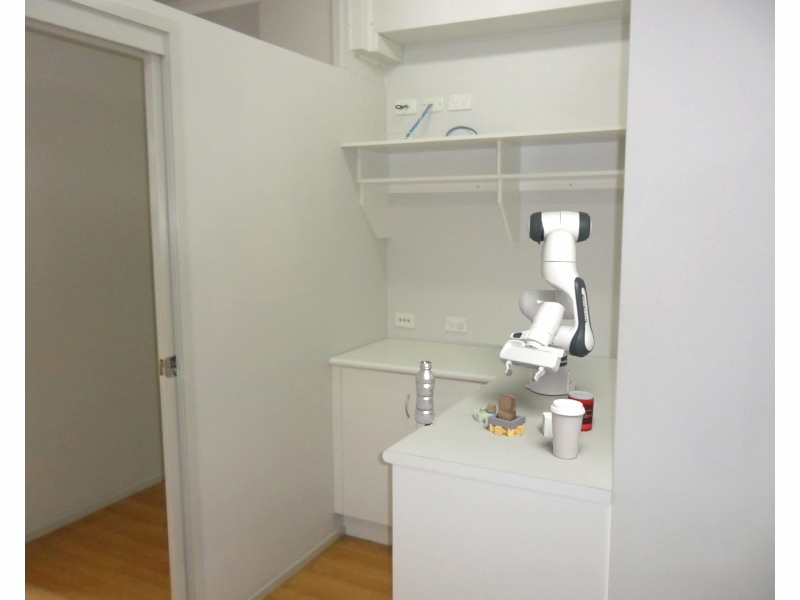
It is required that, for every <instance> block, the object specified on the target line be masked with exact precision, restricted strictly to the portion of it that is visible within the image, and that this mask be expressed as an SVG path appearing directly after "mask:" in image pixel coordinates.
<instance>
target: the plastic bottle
mask: <svg viewBox="0 0 800 600" xmlns="http://www.w3.org/2000/svg"><path fill="white" fill-rule="evenodd" d="M419 362H420V363H419V371H418V372H417V374H416V375H415V387H416V404H415V410H414V420H415V422H416V423H417V424H420V425H430V424H432V423H434V421H435V417H436V415H435V409H434V393H435V392H434V391H435V386H436V385H435V384H436V377H435V374H434V372H433V370H431V369H432V368H433V367H432V361H429V360H422V361H419Z"/></svg>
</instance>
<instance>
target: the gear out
mask: <svg viewBox="0 0 800 600" xmlns="http://www.w3.org/2000/svg"><path fill="white" fill-rule="evenodd" d="M526 417H527V416H525V415H520V414H516V419H514V420H512V421H507V420H503V419H499V418H498V413H497V414H494V415H492V416H489V417H488V424H487V425H488V431H489V432H490V433H492V432H493V433H494V435H496V436H499V435H500V436H502V435H503V434H504V435H503V436H505V435H506V436H507V437H508V436H509V438H510V436H513V438H514V437H515V435H518V436H521V435H523V434H524V432H525V424H526V420H527V419H526Z"/></svg>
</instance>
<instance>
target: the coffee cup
mask: <svg viewBox="0 0 800 600" xmlns="http://www.w3.org/2000/svg"><path fill="white" fill-rule="evenodd" d="M549 410H550V411H551V412H552V435H553V437H552V454H553V456H555V457H556V458H559V459H561V458H562V459H561V460H574V459H577V457H578V453H579V452H578V451H579V447H580V446H579V445H580V437H581V432H582V431H581V426H582V419H583V414H585V409H584V407H583V404H582V403H581V402H579V401H575V400H570V399H568V398H567V399H566V398H561V399H560V398H558V399H554V400H553V401H552V404H551V405H550V407H549Z"/></svg>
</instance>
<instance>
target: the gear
mask: <svg viewBox="0 0 800 600" xmlns="http://www.w3.org/2000/svg"><path fill="white" fill-rule="evenodd" d="M497 413H498V407H497V403H493V402H492V403H490V402H488V403H487V405H486V407H480V408H479V409H475V410H474V415H473V416H474V419H475V421H476V422H477V421H478V422H477V423H482V422H483V423H484V424H485V425H489V424H488V417H489V416H492V415H494V414H497Z"/></svg>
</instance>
